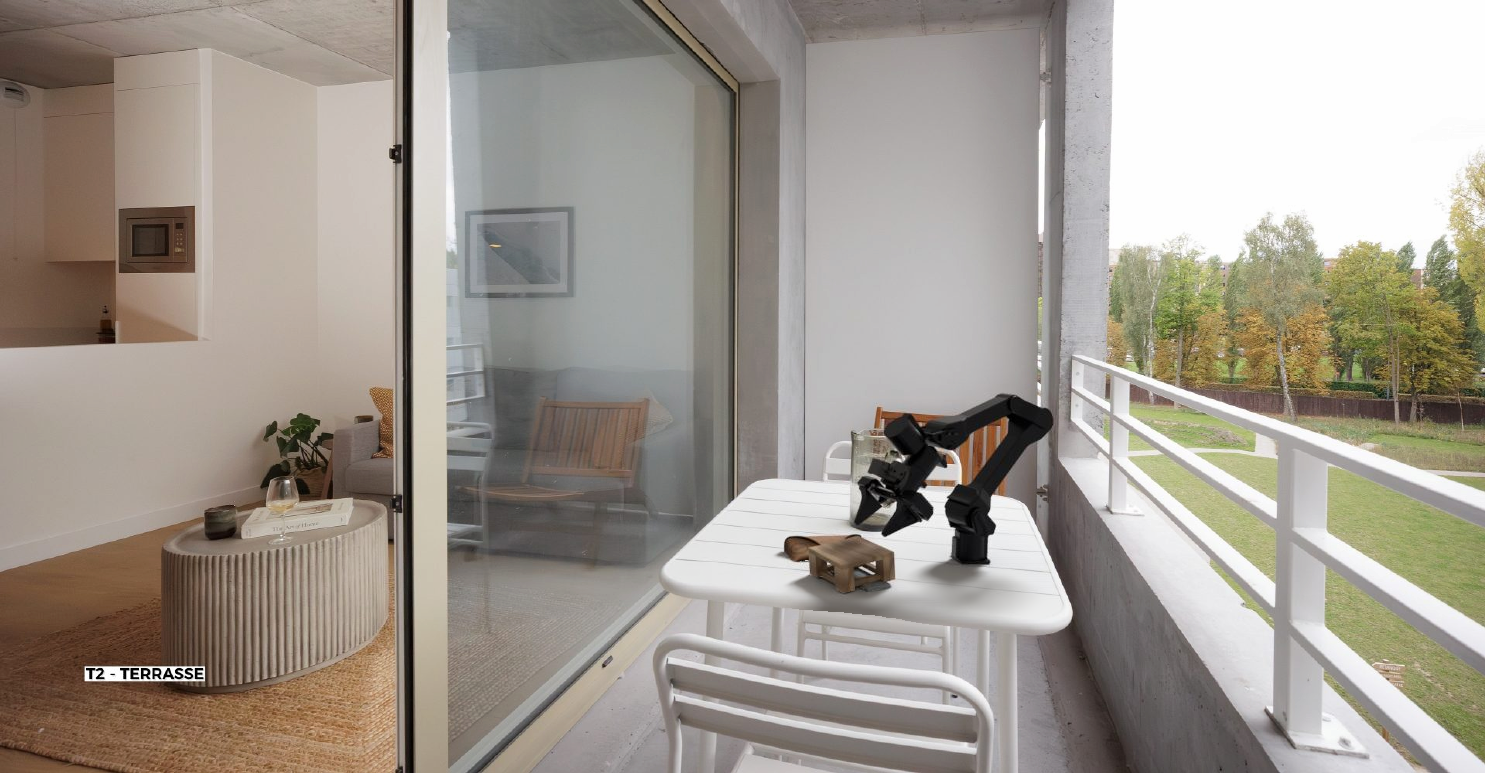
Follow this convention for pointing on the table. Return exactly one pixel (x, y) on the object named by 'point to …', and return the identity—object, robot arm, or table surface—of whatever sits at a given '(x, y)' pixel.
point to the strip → (872, 585)
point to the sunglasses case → (808, 545)
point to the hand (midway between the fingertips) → (868, 529)
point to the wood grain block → (851, 562)
